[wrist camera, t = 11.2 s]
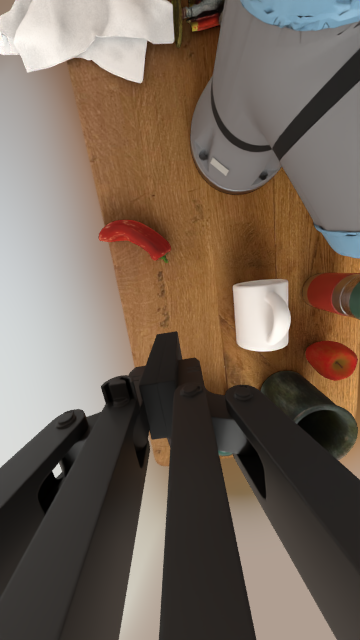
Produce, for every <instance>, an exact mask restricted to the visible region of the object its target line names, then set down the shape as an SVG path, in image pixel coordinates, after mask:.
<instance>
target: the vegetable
mask: <svg viewBox="0 0 360 640" xmlns="http://www.w3.org/2000/svg"><path fill="white" fill-rule="evenodd" d="M99 240H100V241H106V242H114V241H123V240H128V241H130V242H132V243H134V244H136V245H138V246H140V247H141V248H143V249H144V250H146V251H147V252H148V253H149V254H150V256H151V258H152V259H153V260H158V259H163V260H164V261H165V262H166V263H168V260H167V259H166V255H167V254H168V253H169V252H170V251H171V246H170V244H169V242H168V241H167V240H165V239H164V238H163V237H162V236H161V235H160V234H158V233H157V232H156V231H154V230H153V229H151V228H149V227H148V226H146V225H144V224H142V223H140V222H137V221H133V220H117V221H113V222H111V223H109V224H107V225H106V226H105V227H104V228H103V229H102V230H101V232H100V233H99Z"/></svg>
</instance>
